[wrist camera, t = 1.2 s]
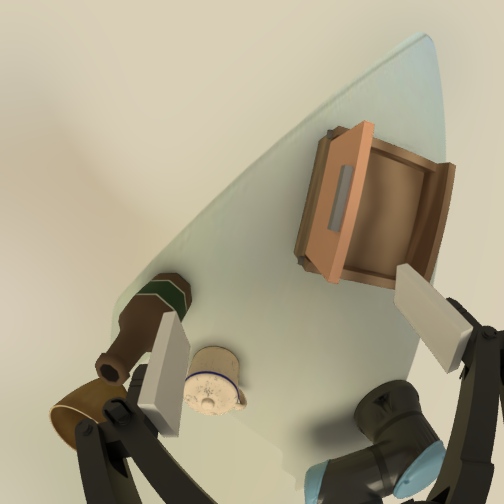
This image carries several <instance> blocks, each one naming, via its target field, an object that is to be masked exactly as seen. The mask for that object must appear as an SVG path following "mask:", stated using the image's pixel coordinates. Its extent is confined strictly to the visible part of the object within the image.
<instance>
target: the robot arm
mask: <svg viewBox="0 0 504 504" xmlns="http://www.w3.org/2000/svg"><path fill="white" fill-rule="evenodd" d="M394 304H395V305H396V307H397V308H398V309H399V310H400V312H401V313H402V314H403V315H404V317H405V318H406V319H407V321H408V322H409V323H410V324H411V326H412V327H413V328H414V330H415V331H416V332H417V333H418V335H419V336H420V337H421V339H422V340H423V341H424V343H425V344H426V345H427V347H428V348H429V349H430V351H431V352H432V354H433V355H434V356H435V357H436V359H437V360H438V362H439V363H440V364H441V366H442V367H443V369H444V370H445V372H446V373H447V374H448V373H450V372H452V371H454V370H456V369H458V367H459V365H460V362H461V360H462V361H463V362H464V364H465V366H464V368H463V370H462V373H461V375H460V377H459V379H461V377H462V381H461V388H460V394H459V400H458V405H457V410H456V415H455V419H454V424H453V428H452V432H451V436H450V440H449V443H448V447H447V450H446V449H445V448H444V446H443V442H442V441H441V440H440V439H439V437H438V436H437V434H436V433H435V431H434V430H433V428H432V427H431V425H430V424H429V423H428V421H427V420H426V418H425V417H424V415H423V414H422V411H421V406H420V403H419V395H418V392H417V391H416V389H415V388H414V387H413V386H412V384H411V383H409V382H407V381H392V382H389V383H386V384H383V385H381V386H379V387H377V388H376V389H374V390H373V391H371V392H370V393H369V394H368V395H367V396H366V397H365V398H364V399H363V400H362V401H361V402H360V404H359V405H358V407H357V409H356V411H355V422H356V424H357V427H358V429H359V430H360V431H361V432H362V433H363V434H365V435H366V437H367V438H368V439H369V440H371V441H372V442H373V444H374V445H373V446H370V447H367V448H365V449H362V450H359V451H357V452H354V453H351V454H348V455H345V456H342V457H339V458H336V459H332V460H331V459H330V460H327V461H326V462H323V463H320V464H317V465H314V466H312V467H310V468H309V469H308V471H307V472H306V476H305V484H304V489H305V490H304V493H305V504H383V501H382V498H383V497H386V496H389V495H391V494H393V495H394V496H395V497H397V498H398V499H403V498H405V497H410V496H412V495H414V494H416V493H418V492H419V491H421V490H423V489H424V488H426V487H427V486H428V485H430V484H431V483H432V482H433V481H434V480H435V479H436V478H437V477H438V478H437V481H436V483H435V485H434V487H433V488H432V490H431V491H430V493H429V495H428V497H427V499H426V501H415V502H414V500H413V499H411V500H408V501H406V502H403V503H401V504H485V503H486V499H487V496H488V493H489V489H490V485H491V481H492V477H493V473H494V464H492V463H491V456H492V451H493V445H494V439H495V432H496V425H497V415H498V405H499V395H500V401H501V407H502V414H503V422H504V330H503V331H497V330H496V329H494V328H493V327H491V326H482V325H481V324H479V322H477V320H476V319H475V318H474V317H473V316H472V315H471V314H470V313H469V312H467V310H466V309H465V308H463V307H462V305H461V304H460V303H458V302H457V301H456V300H454V299H452V298H450V297H449V298H446V299H445V298H444V297H443V296H442V295H441V294H440V293H439V292H437V290H436V289H435V288H434V287H433V286H431V285H430V284H429V283H428V282H427V281H426V280H425V279H424V278H423V277H422V276H421V275H420V274H419V273H417V272H416V271H415V270H414V269H413V268H412V267H411V266H410V265H409V264H407V263H406V264H402V265H398V266H397V272H396V286H395V298H394ZM189 352H190V344H189V342H188V339H187V337H186V335H185V332H184V330H183V327H182V325H181V322H180V320H179V317H178V314H177V312H176V311H173V312H166V313H164V314H163V317H162V320H161V323H160V326H159V330H158V333H157V336H156V339H155V343H154V346H153V349H152V353H151V356H150V360H149V363H148V364H140V365H139V366H138V367H137V368H136V369H135V371H134V373H133V376H132V381H131V382H130V385H129V386H130V387H129V389H128V392H127V395H126V398H125V399H124V398H122V397H114V398H112V399H109V400H108V401H107V402H106V403H105V404H104V406H103V408H102V414H103V416H104V417H105V418H106V420H107V421H106V422H102V423H98V424H97V423H96V421H94V420H93V419H90V418H86V419H83V420H81V421H80V422H79V423H78V424H77V425H76V427H75V441H76V449H77V456H78V462H79V468H80V473H81V479H82V484H83V488H84V493H85V497H86V501H87V504H142V502H141V499H140V497H139V494H138V491H137V489H136V486H135V483H134V481H133V477H132V474H131V471H130V469H129V465H128V462H127V459H126V458H128V457H132V458H133V460H134V462H135V463H136V465H137V466H138V468H139V469H140V470H141V472H142V473H143V474H144V476H145V477H146V479H147V480H148V481H149V483H150V484H151V485H152V487H153V488H154V489H155V490H156V492H157V493H158V494H159V496H160V497H161V498H162V499H163V501H164V502H165V503H166V504H218V503H216V502H215V501H214V500H213V499H212V498H211V497H210V496H209V495H208V494H207V493H206V492H205V491H204V490H203V489H202V488H201V487H200V486H199V485H198V484H197V483H196V482H195V481H194V480H193V479H192V478H191V477H190V476H189V475H188V473H187V472H186V471H185V470H184V469H183V468H182V467H181V466H180V465H179V464H178V462H177V461H176V460H175V459H174V458H173V457H172V456H171V454H170V453H169V452H168V451H167V450H166V448H165V447H164V446H163V445H162V444H161V442H160V441H159V440H158V439H157V437H158V432H159V433H160V434H161V435H162V436H163V437H178V435H179V426H180V418H181V410H182V401H183V394H184V387H185V379H186V372H187V365H188V359H189Z"/></svg>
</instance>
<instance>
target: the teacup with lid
mask: <svg viewBox="0 0 504 504" xmlns="http://www.w3.org/2000/svg"><path fill="white" fill-rule="evenodd" d="M239 369H240V367H239V362H238V360H237V358H236V357H235V356H234V355H233V354H232V353H231V352H230V351H228V350H226V349H223V348H220V347H207V348H204V349H202V350H200V351H199V352H197V353H196V355H195V356H194V358H193V361H192V363H191V366H190V369H189V372H188V375H187V378H186V379H185V387H184V394H183V398H184V400H185V401H186V403H187V404H188V405H189V406H190V407H191V408H192V409H194V410H196V411H197V412H200V413H203V414H207V415H221V414H224V413H226V412H229V411H230V410H231V409H233V408H235V409H237V410H242V409H244V408H245V407H246V405H247V401H246V398H245V396H244V394H243V392H242V391H241V390H240V389H239V388H238V382H239ZM238 399H239V400H240V404H239V403H237V402H238Z"/></svg>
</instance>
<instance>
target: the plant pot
mask: <svg viewBox="0 0 504 504" xmlns="http://www.w3.org/2000/svg"><path fill="white" fill-rule="evenodd" d="M126 395H127V391H126V389H125V387H124V386H123V385H121V386H113V385H108V384H107V383H106V382H104V381H103V380H102V379H101V378H98V379H95V380H93V381H91V382H89V383H87V384H85V385H83V386H81V387H80V388H78V389H76V390H74V391H73V392H71V393H70V394H68V395H67V396H66V397H64V398H63V399H62V400H61V401H59V402H58V403H57V404H56V405H54V406H53V407H52V408H51V409H50V412H49V419H50V422H51V424H52V426H53V428H54V430H55V432H56V433H57V434H58V436H59V437H60V438H61V439H62V440H63V441H64V442H65V443H66V444H67V445H68V446H69V447H71V448H72V449H74V450H75V451H76V452H77V449H76V441H75V427H76V425H77V424H78V423H79V422H80V421H81V420H83V419H86V418H90V419H93V420H94V421H96V423H97V424H98V423H102V422H106V421H107V420H106V418H105V417H104V416H103V414H102V408H103V406H104V404H105V403H106V402H107V401H108V400H109V399H112V398H114V397H122V398H124V399H125V398H126Z"/></svg>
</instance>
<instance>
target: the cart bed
mask: <svg viewBox="0 0 504 504" xmlns="http://www.w3.org/2000/svg"><path fill="white" fill-rule="evenodd" d="M348 130H350V129H347V128H344V127H341V126H338V127H337V128H335V129H334V130H328V131H327V135H326V136H325V137H324V138H322V139H321V140H320V141H319V144H318V148H317V153H316V158H315V163H314V167H313V172H312V176H311V181H310V185H309V190H308V194H307V199H306V203H305V207H304V212H303V216H302V220H301V224H300V229H299V233H298V237H297V241H296V245H295V249H294V254H295V255H296V257H297V259H298V264H299V265H302V266H303V268H304V269H305V271H307V272H312V273H317V274H321V273H320V271H319V270H318V269H317V268H316V266H315V265H314V264H313V263H312V262H311V260H310V259H309V258H308V257H307V255H306V254H305V252H306V248H307V245H308V241H309V237H310V232H311V228H312V224H313V220H314V216H315V212H316V207H317V203H318V199H319V194H320V190H321V185H322V181H323V176H324V172H325V167H326V162H327V157H328V153H329V148H330V143H331V141H333V140H334V139H336V138H337V137H339V136H340V135H342V134H344V133H345V132H347V131H348ZM455 169H456V166H455V165H454V164H452V163H450V162H449V163H439V164H437V163H434V162H432V161H430V160H428V159H426V158H423V157H421V156H419V155H417V154H414V153H412V152H409V151H407V150H405V149H402V148H400V147H397V146H395V145H392V144H390V143H387V142H384V141H382V140H379V139H376V138H374V137H372V143H371V148H370V154H369V159H368V164H367V170H366V175H365V180H364V184H363V189H362V194H361V198H360V203H359V207H358V211H357V215H356V220H355V224H354V228H353V232H352V236H351V240H350V243H349V247H348V251H347V255H346V258H345V262H344V265H343V269H342V272H341V276H340V279H345V280H350V281H355V282H360V283H365V284H369V285H374V286H379V287H384V288H389V289H394V290H395V286H396V272H397V266H398V265H402V264H406V263H407V264H409V265H410V266H411V267H412V268H413V269H414V270H415V271H416V272H417V273H419V274H420V275H421V276H422V277H423V278H424V279H425V280H426V281H427V282H428V283H430V280H431V276H432V273H433V270H434V267H435V263H436V260H437V256H438V253H439V249H440V245H441V241H442V237H443V233H444V228H445V225H446V220H447V215H448V211H449V206H450V200H451V194H452V189H453V183H454V176H455ZM321 275H322V274H321Z"/></svg>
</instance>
